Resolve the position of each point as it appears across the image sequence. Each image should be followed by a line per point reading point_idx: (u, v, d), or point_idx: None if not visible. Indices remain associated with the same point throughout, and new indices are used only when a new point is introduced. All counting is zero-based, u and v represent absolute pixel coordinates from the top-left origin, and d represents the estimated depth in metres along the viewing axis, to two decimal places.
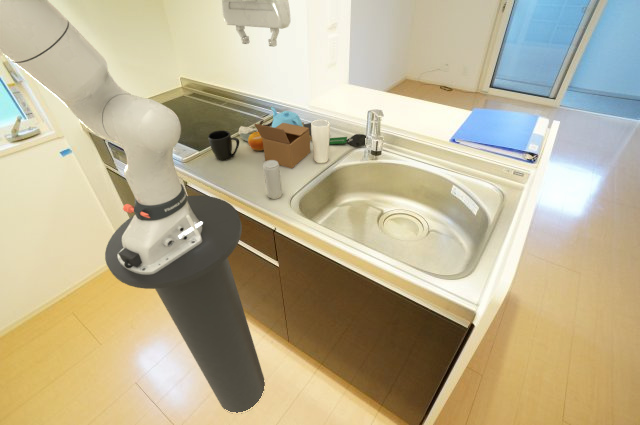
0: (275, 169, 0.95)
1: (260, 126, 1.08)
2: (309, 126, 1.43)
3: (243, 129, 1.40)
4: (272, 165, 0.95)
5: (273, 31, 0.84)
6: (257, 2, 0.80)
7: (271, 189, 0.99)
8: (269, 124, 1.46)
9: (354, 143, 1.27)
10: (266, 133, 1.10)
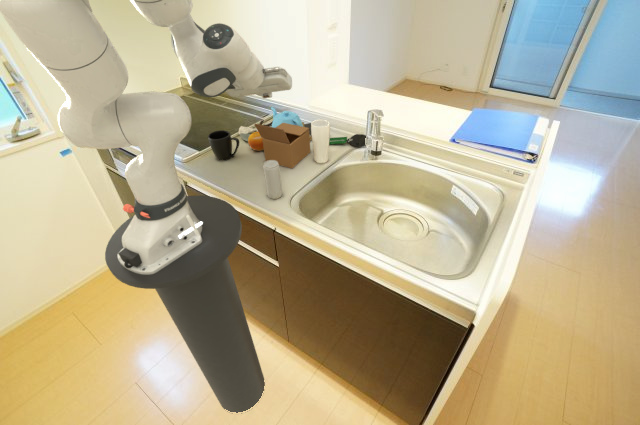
0: (275, 169, 0.95)
1: (260, 126, 1.08)
2: (309, 126, 1.43)
3: (243, 129, 1.40)
4: (272, 165, 0.95)
5: None
6: None
7: (271, 189, 0.99)
8: (269, 124, 1.46)
9: (354, 143, 1.27)
10: (266, 133, 1.10)
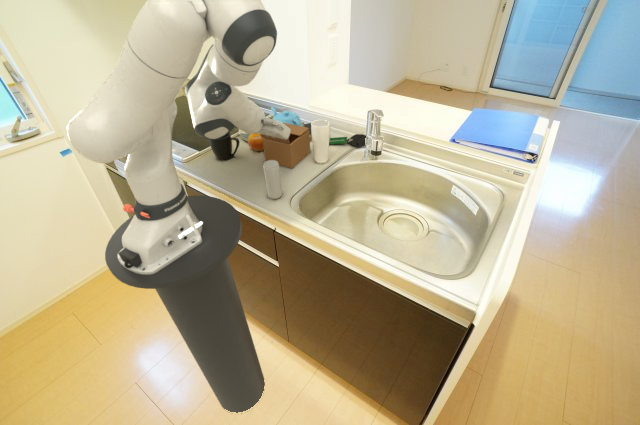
0: (275, 169, 0.95)
1: None
2: (309, 126, 1.43)
3: None
4: (272, 165, 0.95)
5: None
6: None
7: (271, 189, 0.99)
8: None
9: (354, 143, 1.27)
10: None
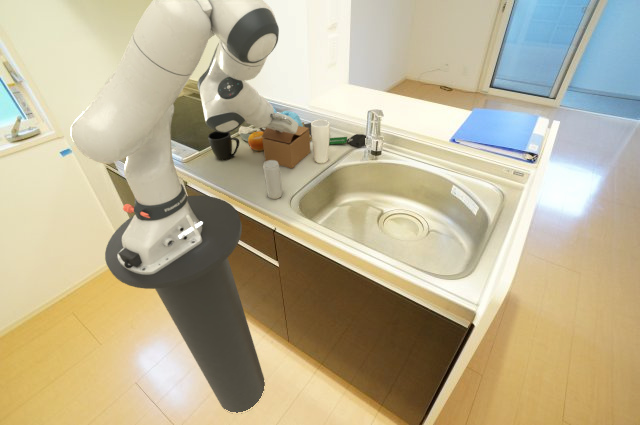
0: (275, 169, 0.95)
1: None
2: (309, 126, 1.43)
3: (243, 129, 1.40)
4: (272, 165, 0.95)
5: None
6: None
7: (271, 189, 0.99)
8: None
9: (354, 143, 1.27)
10: (273, 130, 1.14)
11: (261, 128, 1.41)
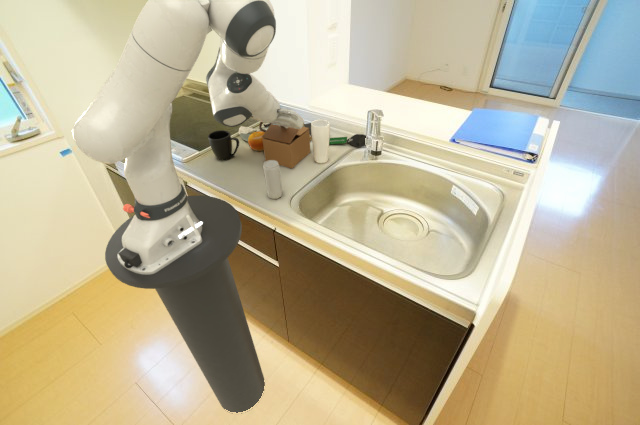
0: (275, 169, 0.95)
1: (275, 125, 1.16)
2: (309, 126, 1.43)
3: (243, 129, 1.40)
4: (272, 165, 0.95)
5: None
6: None
7: (271, 189, 0.99)
8: (269, 124, 1.46)
9: (354, 143, 1.27)
10: (274, 132, 1.14)
11: (261, 128, 1.41)
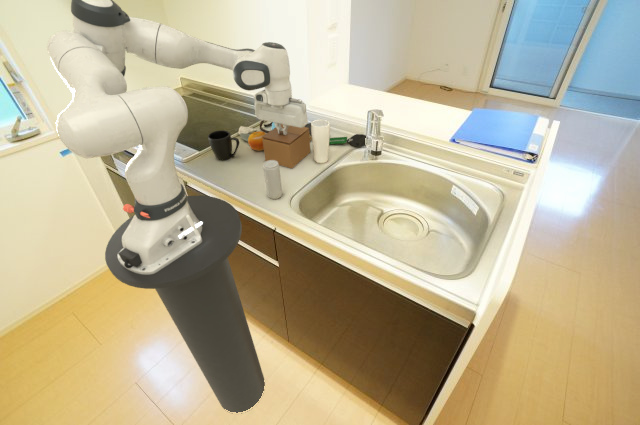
0: (275, 169, 0.95)
1: (277, 131, 1.18)
2: (309, 126, 1.43)
3: (243, 129, 1.40)
4: (272, 165, 0.95)
5: None
6: None
7: (271, 189, 0.99)
8: (270, 124, 1.46)
9: (354, 143, 1.27)
10: (274, 135, 1.15)
11: (261, 128, 1.41)
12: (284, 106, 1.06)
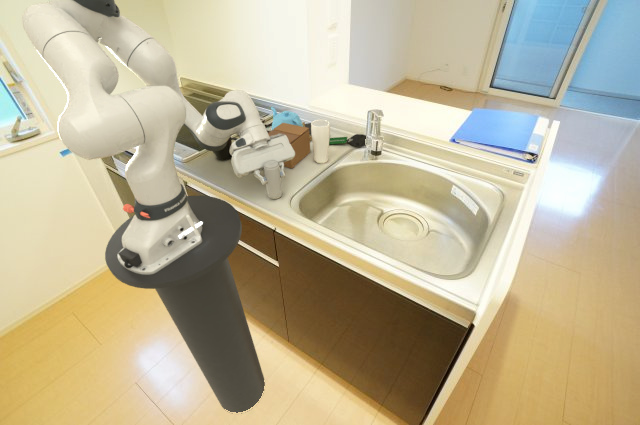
0: (275, 169, 0.95)
1: (277, 131, 1.18)
2: (310, 126, 1.43)
3: None
4: (272, 165, 0.95)
5: None
6: None
7: (272, 189, 0.99)
8: (270, 124, 1.46)
9: (354, 143, 1.27)
10: None
11: None
12: (269, 142, 0.99)
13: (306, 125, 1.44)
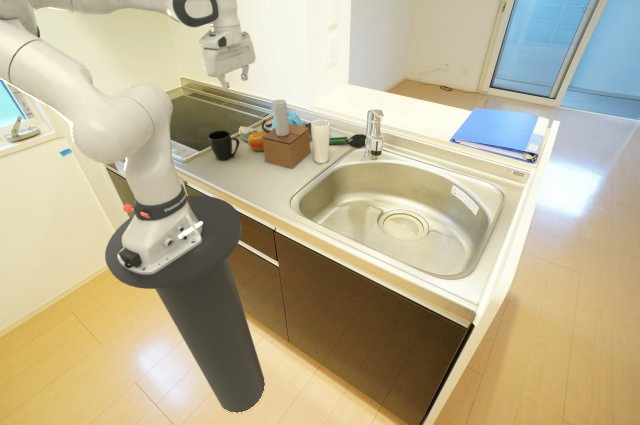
0: (283, 106, 1.07)
1: None
2: (310, 126, 1.43)
3: (243, 129, 1.40)
4: (280, 103, 1.07)
5: None
6: None
7: (280, 126, 1.11)
8: (271, 124, 1.47)
9: (354, 143, 1.27)
10: (274, 135, 1.15)
11: (264, 128, 1.41)
12: (239, 43, 0.97)
13: (306, 125, 1.44)
